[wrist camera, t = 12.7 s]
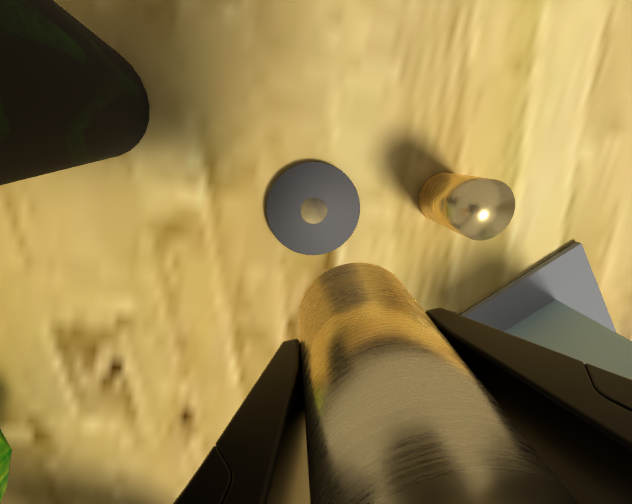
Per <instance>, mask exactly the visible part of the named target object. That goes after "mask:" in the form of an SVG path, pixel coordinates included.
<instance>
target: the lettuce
mask: <svg viewBox="0 0 632 504" xmlns="http://www.w3.org/2000/svg"><path fill="white" fill-rule="evenodd" d="M11 452H12V449H11V447H10V446H9V444H8V442H7V440H6V438H5V437H4V435H3V433H2V431H1V429H0V502H1V500H2V497H3V495H4V493H5V491H6V488H7V481H8V474H9V467H10V460H11Z"/></svg>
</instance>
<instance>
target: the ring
mask: <svg viewBox="0 0 632 504" xmlns="http://www.w3.org/2000/svg"><path fill="white" fill-rule="evenodd" d="M359 214H360V202H359V197H358V193H357V191H356V188H355V186H354V184H353V183H352V181H351V180H350V179H349V178H348V177H347V175H346V174H344V173H343V172H342V171H341V170H339V169H338V168H336V167H334V166H331V165H329V164H326V163H321V162H306V163H301V164H298V165H295V166H293V167H291V168H290V169H288V170H286V171H285V172H284V173H283V174H281V176H280V177H279V178H278V179H277V180H276V181H275V183H274V184H273V186H272V188H271V190H270V193H269V196H268V200H267V218H268V222H269V225H270V228H271V230H272V232H273V234H274V235H275V237H276V238H277V239H278V240H279V241H280V242H281V243H282V244H283V245H284V246H286V247H287V248H289V249H291V250H293V251H295V252H297V253H301V254H305V255H319V254H324V253H328V252H330V251H333V250H335V249H336V248H338V247H340V246H341V245H342V244H344V243H345V242H346V241H347V240H348V238H349V237H350V236H351V235H352V233H353V231H354V230H355V228H356V225H357V222H358V219H359Z"/></svg>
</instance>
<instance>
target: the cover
mask: <svg viewBox="0 0 632 504" xmlns="http://www.w3.org/2000/svg"><path fill="white" fill-rule="evenodd" d="M504 332H506V333H509V334H512V335H514V336H517V337H519V338H522V339H525V340H527V341H530V342H533V343H535V344H538V345H541V346H543V347H546V348H548V349H551V350H554V351H556V352H559V353H562V354H564V355H567V356H570V357H572V358H575V359H578V360H580V361H582V362H583V363H584V364H585V363H588V364H591V365H594V366H596V367H599V368H602V369H604V370H607V371H609V372H612V373H615V374H618V375H620V376H623V377H626V378H629V379H631V380H632V341H630V340H628V339H627V338H625V337H623V336H621V335H619V334H618V333H616V332H614V331H612V330H610V329H608V328H607V327H605V326H603V325H601V324H599V323H598V322H596V321H594V320H592V319H590V318H589V317H587V316H585V315H583V314H581V313H580V312H578V311H576V310H574V309H572V308H571V307H569V306H567V305H565V304H563V303H562V302H560V301H558V300H554V301H553V302H551V303H549V304H548V305H546V306H544V307H543V308H541V309H540V310H538V311H536V312H535V313H533V314H531V315H530V316H528V317H527V318H525V319H523V320H522V321H520V322H519V323H517V324H515V325H514V326H512V327H510V328H509V329H507V330H506V331H504Z"/></svg>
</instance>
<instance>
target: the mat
mask: <svg viewBox="0 0 632 504" xmlns="http://www.w3.org/2000/svg"><path fill="white" fill-rule="evenodd" d="M554 300H558V301H560V302H562V303H563V304H565V305H567V306H569V307H571V308H572V309H574V310H576V311H578V312H580V313H581V314H583V315H585V316H587V317H589V318H590V319H592V320H594V321H596V322H598V323H599V324H601V325H603V326H605V327H607V328H608V329H610V330H612V331H614V332H616V330H615V328H614V325H613V323H612V320H611V318H610V315H609V313H608V310H607V307H606V305H605V302H604V300H603V297H602V295H601V292H600V290H599V287H598V284H597V282H596V279H595V277H594V274H593V272H592V269H591V267H590V264H589V262H588V259H587V256H586V254H585V251H584V249H583V246H582V244H581V243H579V242H575V243H573V244H572V245H570V246H568V247H567V248H565V249H564V250H562V251H561V252H559V253H557V254H556V255H554V256H553V257H551V258H549V259H548V260H546V261H545V262H543V263H541V264H540V265H538V266H537V267H535V268H534V269H532V270H530V271H529V272H527V273H526V274H524V275H522V276H521V277H519V278H518V279H516V280H514V281H513V282H511V283H510V284H508V285H507V286H505V287H503V288H502V289H500V290H499V291H497V292H495V293H494V294H492V295H491V296H489V297H487V298H486V299H484V300H483V301H481V302H480V303H478V304H476V305H475V306H473V307H472V308H470V309H468V310H467V311H465V312H464V313H462V314H460V315H461V316H464V317H467V318H469V319H472V320H475V321H477V322H480V323H482V324H485V325H488V326H490V327H493V328H496V329H498V330H501V331H506V330H507V329H509V328H510V327H512V326H514V325H515V324H517V323H519V322H520V321H522V320H523V319H525V318H527V317H528V316H530V315H531V314H533V313H535V312H536V311H538V310H540V309H541V308H543V307H544V306H546V305H548V304H549V303H551V302H553V301H554Z"/></svg>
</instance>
